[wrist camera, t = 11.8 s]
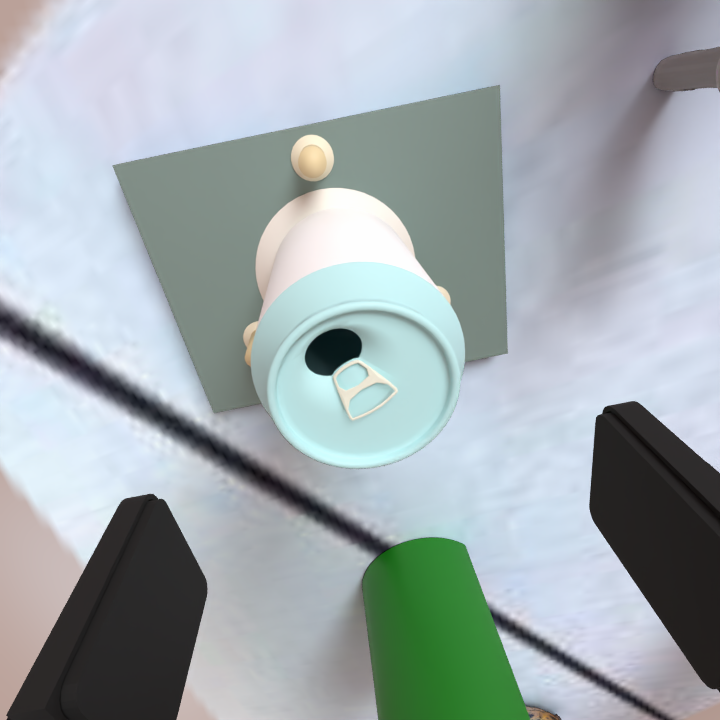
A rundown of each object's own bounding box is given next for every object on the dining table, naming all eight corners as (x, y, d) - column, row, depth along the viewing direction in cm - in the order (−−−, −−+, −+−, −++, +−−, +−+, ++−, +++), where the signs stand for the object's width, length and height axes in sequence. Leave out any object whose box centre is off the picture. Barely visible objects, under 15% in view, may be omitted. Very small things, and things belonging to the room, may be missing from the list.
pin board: (498, 342, 29) (524, 373, 25) (218, 399, 29) (205, 438, 25) (488, 87, 22) (521, 81, 18) (124, 162, 22) (88, 171, 19)
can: (261, 317, 25) (223, 465, 14) (292, 185, 22) (274, 247, 11) (382, 348, 26) (430, 501, 16) (427, 229, 23) (523, 318, 13)
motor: (454, 615, 42) (558, 980, 24) (357, 618, 40) (390, 1003, 23) (477, 536, 37) (627, 918, 19) (368, 537, 36) (420, 943, 18)
